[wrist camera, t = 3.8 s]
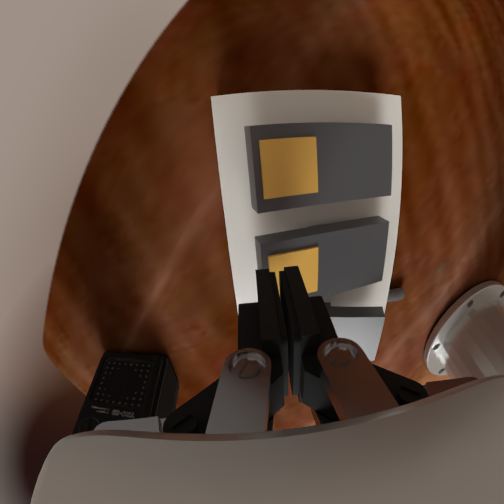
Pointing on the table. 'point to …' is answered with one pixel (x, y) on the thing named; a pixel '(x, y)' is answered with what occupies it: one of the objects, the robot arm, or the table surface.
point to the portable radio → (129, 390)
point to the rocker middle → (328, 254)
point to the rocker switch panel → (252, 224)
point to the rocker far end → (317, 163)
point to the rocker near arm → (358, 325)
